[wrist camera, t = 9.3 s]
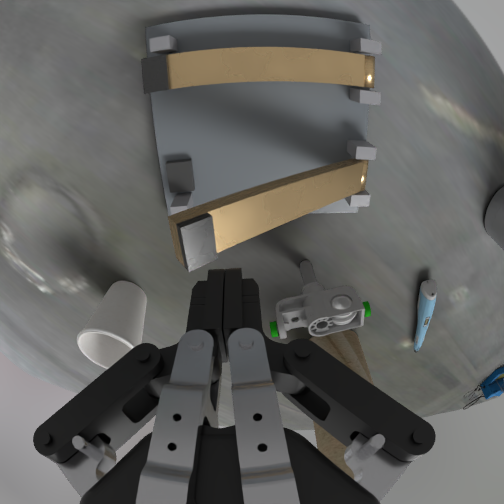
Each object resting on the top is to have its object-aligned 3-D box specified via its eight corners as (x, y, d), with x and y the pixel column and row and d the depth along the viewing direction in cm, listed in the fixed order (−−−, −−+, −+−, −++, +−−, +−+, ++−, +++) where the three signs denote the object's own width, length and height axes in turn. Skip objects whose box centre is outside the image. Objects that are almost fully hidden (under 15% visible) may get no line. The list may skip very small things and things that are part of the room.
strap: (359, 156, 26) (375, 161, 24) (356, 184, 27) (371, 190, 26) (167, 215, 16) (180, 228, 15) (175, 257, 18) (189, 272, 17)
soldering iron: (477, 403, 91) (488, 432, 76) (435, 418, 87) (446, 453, 72) (523, 358, 71) (540, 390, 56) (487, 371, 67) (506, 412, 52)
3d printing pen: (429, 296, 35) (442, 286, 35) (416, 283, 38) (429, 274, 38) (416, 358, 46) (427, 350, 47) (407, 347, 49) (418, 340, 49)
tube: (323, 323, 42) (360, 484, 22) (369, 334, 45) (412, 470, 24) (290, 358, 47) (309, 499, 27) (335, 366, 50) (362, 490, 30)
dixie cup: (91, 278, 36) (63, 332, 28) (140, 267, 35) (117, 327, 27) (118, 319, 40) (100, 372, 32) (165, 312, 40) (153, 371, 31)
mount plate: (363, 26, 20) (383, 21, 16) (352, 206, 31) (367, 226, 27) (150, 29, 19) (134, 22, 16) (172, 214, 31) (163, 235, 27)
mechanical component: (262, 264, 35) (269, 328, 27) (344, 247, 34) (372, 305, 26) (267, 282, 37) (274, 345, 29) (345, 266, 36) (370, 324, 28)
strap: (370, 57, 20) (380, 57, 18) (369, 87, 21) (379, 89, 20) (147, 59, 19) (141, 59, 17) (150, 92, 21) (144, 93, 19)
